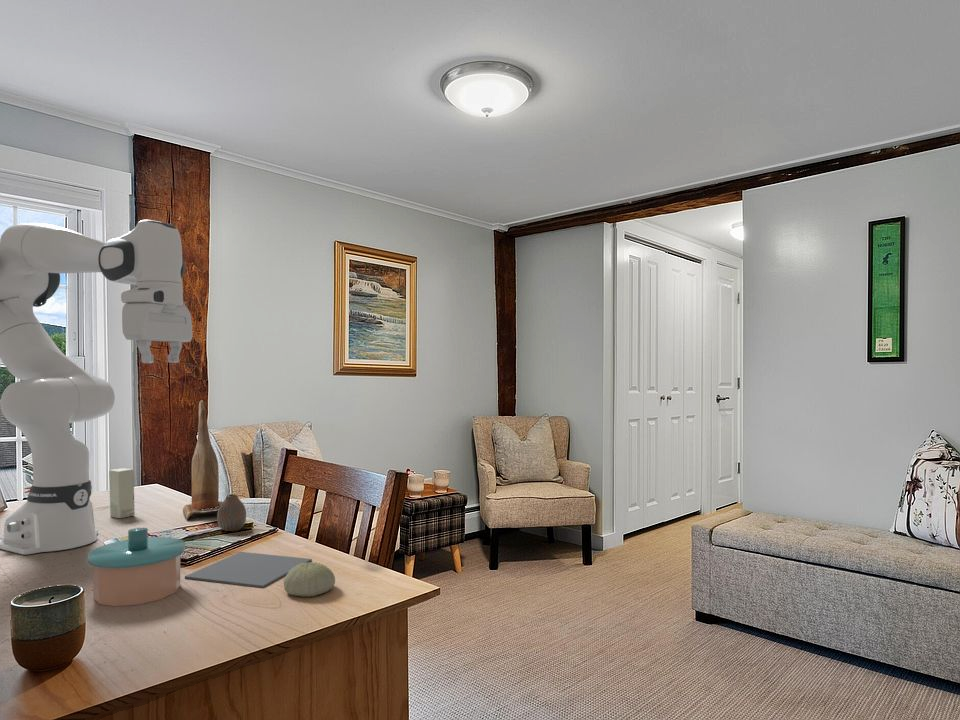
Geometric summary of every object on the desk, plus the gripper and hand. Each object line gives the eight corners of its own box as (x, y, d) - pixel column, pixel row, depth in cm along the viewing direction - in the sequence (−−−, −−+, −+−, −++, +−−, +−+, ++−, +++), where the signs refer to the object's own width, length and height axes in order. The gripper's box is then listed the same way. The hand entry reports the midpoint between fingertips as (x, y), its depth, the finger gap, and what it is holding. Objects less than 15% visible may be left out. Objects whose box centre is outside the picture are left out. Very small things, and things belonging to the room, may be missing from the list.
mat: (184, 578, 129) (184, 576, 129) (240, 553, 145) (240, 551, 145) (263, 587, 124) (263, 585, 124) (311, 560, 140) (311, 558, 140)
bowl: (76, 600, 117) (76, 561, 117) (137, 576, 130) (137, 541, 130) (138, 609, 113) (138, 569, 113) (195, 583, 126) (195, 546, 126)
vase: (236, 534, 161) (236, 498, 161) (211, 532, 163) (211, 497, 162) (251, 526, 168) (251, 492, 168) (227, 525, 169) (227, 491, 169)
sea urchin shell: (312, 593, 115) (289, 556, 118) (290, 618, 118) (269, 581, 121) (348, 578, 123) (326, 544, 126) (327, 602, 126) (306, 568, 129)
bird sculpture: (223, 509, 189) (221, 398, 190) (231, 516, 179) (229, 399, 180) (181, 514, 183) (179, 400, 184) (187, 522, 173) (184, 401, 174)
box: (135, 515, 180) (135, 469, 180) (119, 519, 176) (119, 471, 176) (124, 513, 182) (124, 467, 182) (108, 516, 179) (108, 469, 179)
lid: (66, 563, 116) (66, 537, 116) (137, 539, 132) (137, 516, 131) (138, 571, 112) (138, 545, 112) (203, 545, 127) (203, 522, 127)
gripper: (173, 301, 149) (173, 362, 149) (115, 292, 128) (116, 363, 128) (199, 301, 148) (200, 362, 148) (145, 292, 128) (146, 363, 128)
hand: (160, 362), depth 138 cm, fingers open, 8 cm apart
